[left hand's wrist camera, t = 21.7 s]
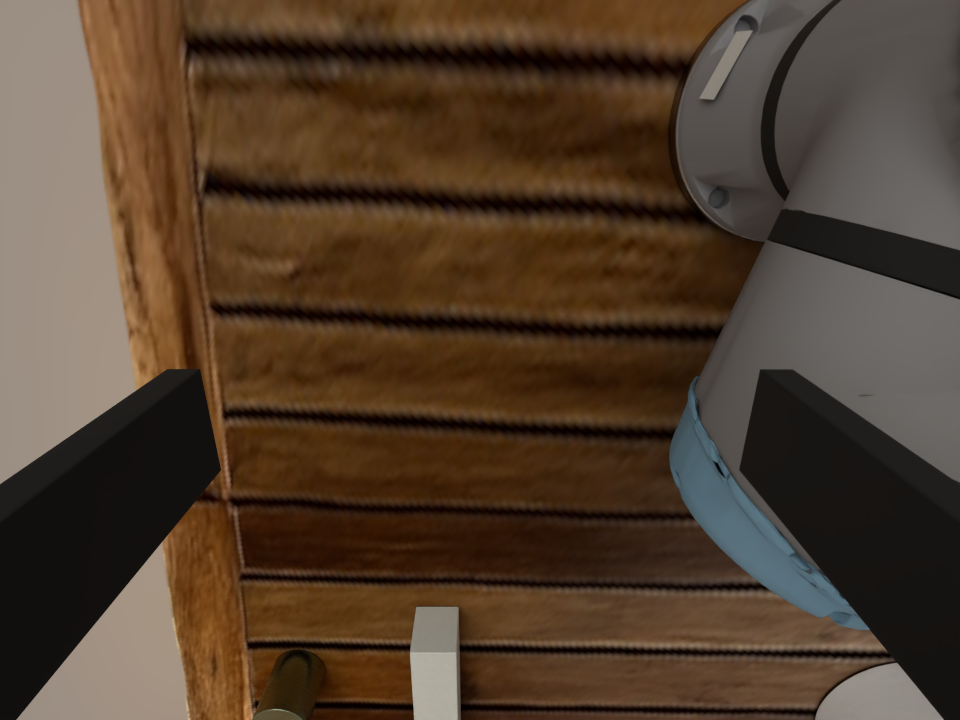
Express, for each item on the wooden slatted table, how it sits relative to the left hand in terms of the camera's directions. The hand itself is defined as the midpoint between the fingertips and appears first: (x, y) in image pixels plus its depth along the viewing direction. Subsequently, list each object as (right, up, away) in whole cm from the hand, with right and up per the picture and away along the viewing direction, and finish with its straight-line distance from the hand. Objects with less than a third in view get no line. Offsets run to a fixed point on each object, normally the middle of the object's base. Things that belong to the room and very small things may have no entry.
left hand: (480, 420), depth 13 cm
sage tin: (-18, -29, +40) cm, 53 cm away
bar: (-4, -33, +42) cm, 53 cm away
